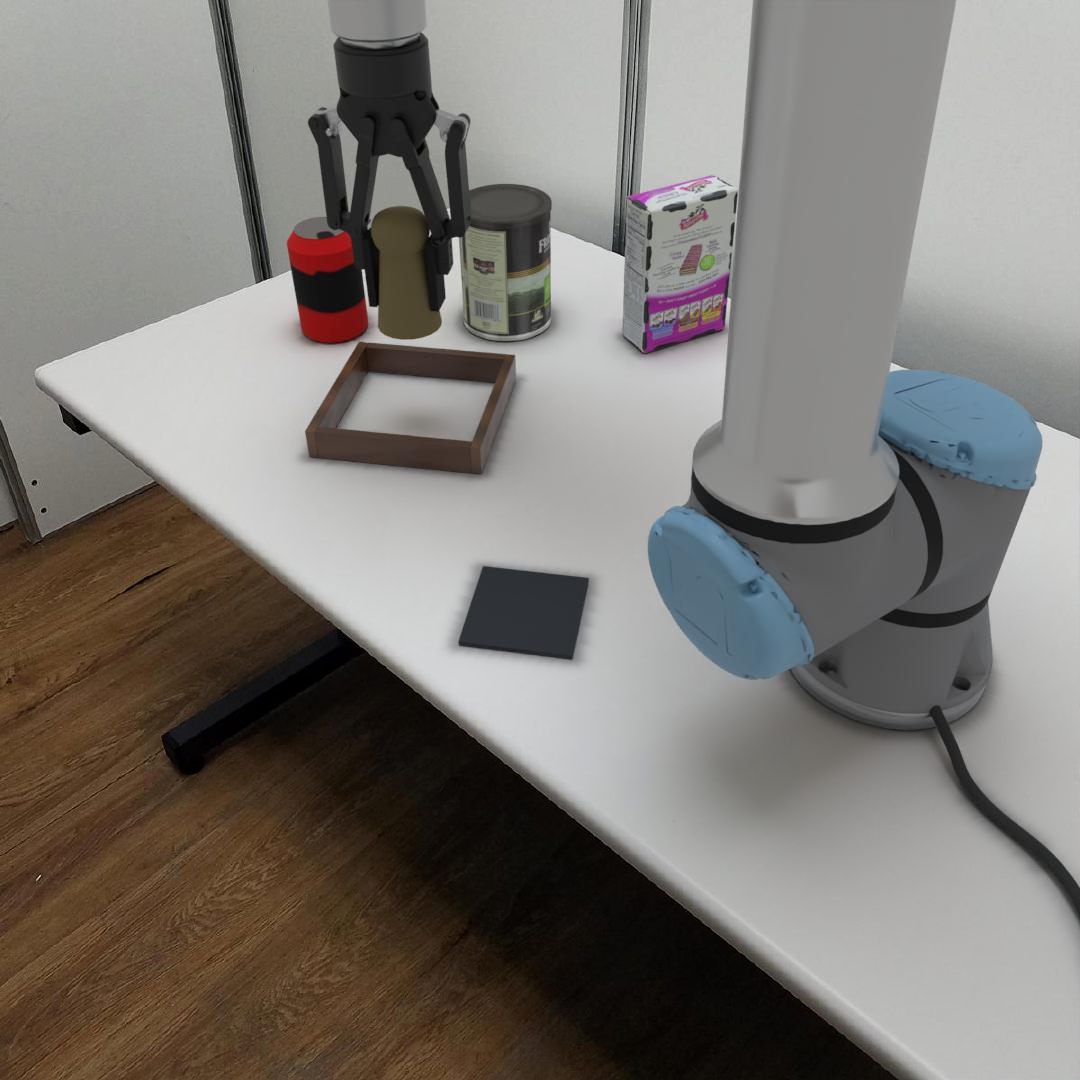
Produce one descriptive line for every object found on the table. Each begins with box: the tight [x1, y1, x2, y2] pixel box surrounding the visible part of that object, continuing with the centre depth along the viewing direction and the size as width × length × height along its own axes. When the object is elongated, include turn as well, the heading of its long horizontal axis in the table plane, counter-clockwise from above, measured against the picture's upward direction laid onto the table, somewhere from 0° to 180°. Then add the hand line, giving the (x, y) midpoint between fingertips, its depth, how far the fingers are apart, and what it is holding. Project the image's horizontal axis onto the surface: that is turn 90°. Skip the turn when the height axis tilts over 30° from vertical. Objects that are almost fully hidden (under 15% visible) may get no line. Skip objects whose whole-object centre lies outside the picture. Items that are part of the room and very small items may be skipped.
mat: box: [458, 565, 589, 660], centre depth 86 cm, size 9×9×1 cm
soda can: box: [286, 216, 369, 344], centre depth 118 cm, size 8×8×12 cm
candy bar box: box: [622, 174, 739, 354], centre depth 115 cm, size 11×5×16 cm, turn 119°
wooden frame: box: [304, 341, 517, 475], centre depth 107 cm, size 17×17×3 cm
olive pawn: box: [370, 205, 443, 341], centre depth 97 cm, size 6×6×11 cm
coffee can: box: [458, 183, 553, 342], centre depth 118 cm, size 10×10×14 cm
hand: (407, 301), depth 99 cm, fingers closed on olive pawn, 5 cm apart
